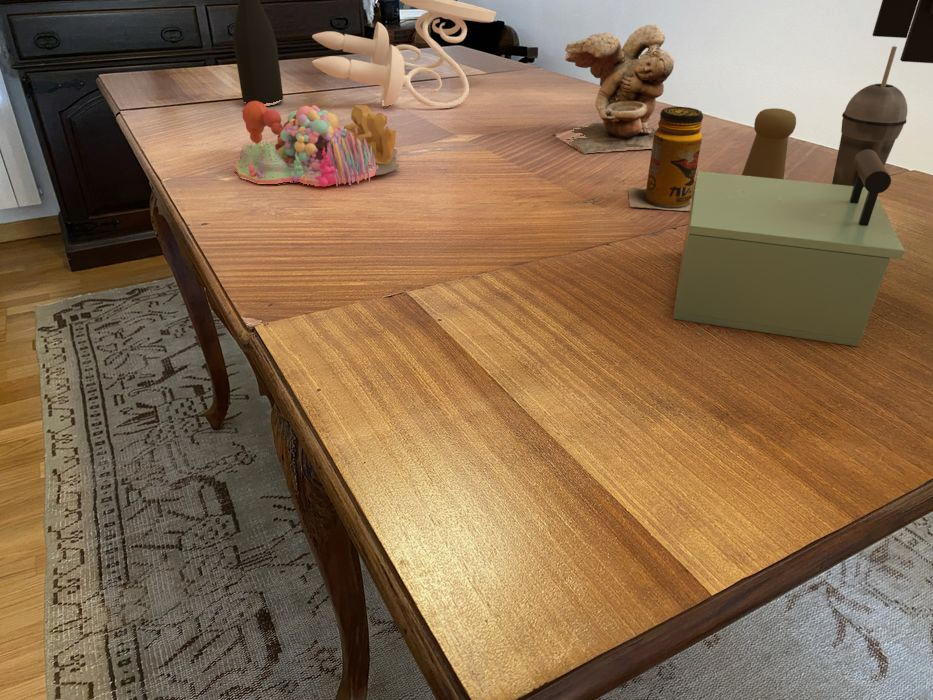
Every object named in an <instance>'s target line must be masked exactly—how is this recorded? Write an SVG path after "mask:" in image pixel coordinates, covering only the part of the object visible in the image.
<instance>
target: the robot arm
mask: <svg viewBox="0 0 933 700" xmlns="http://www.w3.org/2000/svg"><path fill="white" fill-rule="evenodd" d="M872 37H877V38H878V37H879V38H881V37H882V38H896V39H897V38H898V39H905V42H904V46H903V49H902V53H901V55H900V62H904V63H921V64H933V0H881V3H880V7H879V11H878V13H877V17H876V20H875V24H874V28H873V31H872Z"/></svg>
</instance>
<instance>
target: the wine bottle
mask: <svg viewBox="0 0 933 700" xmlns="http://www.w3.org/2000/svg"><path fill="white" fill-rule="evenodd" d="M237 4H238V5H237V9H236V15H235V18H234V19H235V20H234V24H233V48H234V54H235V60H236V66H237V67H236V68H237V74H238V81H239V86H240V92H241V98H242V101H243V103H244V102H246V103H248V102H251V101H259V102H261V103H263V104H266V103H273V102H276V101H279V100H282V99H283V100H284V92H283V85H282V75H281V69H280V60H279V52H278V43H277V39H276V36H275V32H274V29H273V26H272V24H271V22H270V20H269V18H268V16H267V14H266V12H265V10H264V7H263V5H262V3H261V0H238V3H237ZM283 100H282V101H283Z"/></svg>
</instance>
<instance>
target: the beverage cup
mask: <svg viewBox="0 0 933 700" xmlns="http://www.w3.org/2000/svg"><path fill="white" fill-rule="evenodd" d="M897 49H898V46H896V45H894V46H892V47H891V49H890V53H889V57H888V59H887V63H886V67H885V70H884V73H883V77H882V79H881V83H873V84H870V85H867V86H865V87H863V88H861V89H860V90H859V91H857V92H856V93H854V95H853V96H852V97H851V98H850V100H849V101H848V103H847V104H846V106H845V110H844V111H843V113H842V115H841V116H842V120H841V129H840V133H841V135H840V140H839V147H838V151H837V155H836V160H835V165H834V166H835V167H834V172H833V177H832V182H831V184H835V185H846V186H854V184H855V181H856V177H857V174H858V172H857V170H856V168H855V165H854V158H855V156H856V155H857V154H858V153H859V152H860V151H862V150H866V149H870V150H873V151H875V152H876V154H877V155H878V157H879V159H880V160H881V162H882V164H883V165H884V167H885V166H886V163H887V161H888V158H889V156H890V154H891V152H892V149H893V147H894V145H895V142H896V140H897V139H898V138H899V136H900V134H901V132H902V131H903V129H904V125H905V124H907V116H908V103H907V99H906V97H905V95H904V93H903V92H902V91H901V89H899V88H898V87H896V86H894V85H892V84H888V83H887V82H888V79H889V76H890V72H891V69H892V66H893V62H894V58H895V55H896V52H897ZM863 187H865V186H863Z"/></svg>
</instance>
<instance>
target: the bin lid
mask: <svg viewBox="0 0 933 700" xmlns="http://www.w3.org/2000/svg"><path fill="white" fill-rule="evenodd" d="M854 165H855V168H856V170H857V172H858V174H857V177H856V181H855V184H854V186H846V185H835V184H832V183H825V182H814V181H803V180H793V179H774V178H764V177H753V176H743V175H742V174H732V173H721V172H712V171H702V170H696V175H695V181H696V182H695V181H694V186H695V189H694V188H693V192H694V197H693V196H692V197H693V204H692V212H691V219H690V227H689V234H695V235H703V236H712V237H720V238H728V239H737V240H745V241H753V242H762V243H770V244H778V245H787V246H795V247H803V248H812V249H820V250H828V251H837V252H845V253H853V254H862V255H870V256H878V257H887V258H889V259H897V260H902V259H903V258H904V255H905V252H906V249H905V248H904V246H903V243H902V241H901V240H900V237H899V236H898V234H897V232H896V230H895V228H894V226H893V224H892V222H891V220H890V219H889V217H888V215H887V213H886V210H885V209H884V207H883V205H882V202H881V200H880V199H879V198H878V197H879V194H882V193H883V192H885V191H887V190H888V189H889V188H890V186H891V184H892V177H891V175H890V173H889V172H888V170H887V169H886V167H885V166H884V165H883V164H882V162H881V160H880V159H879V157H878V155H877V154H876V152H875V151H873V150H870V149H866V150H862V151H860V152H859V153H858V154H857V155H856V156H855V158H854ZM863 186H865V187H863Z"/></svg>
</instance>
